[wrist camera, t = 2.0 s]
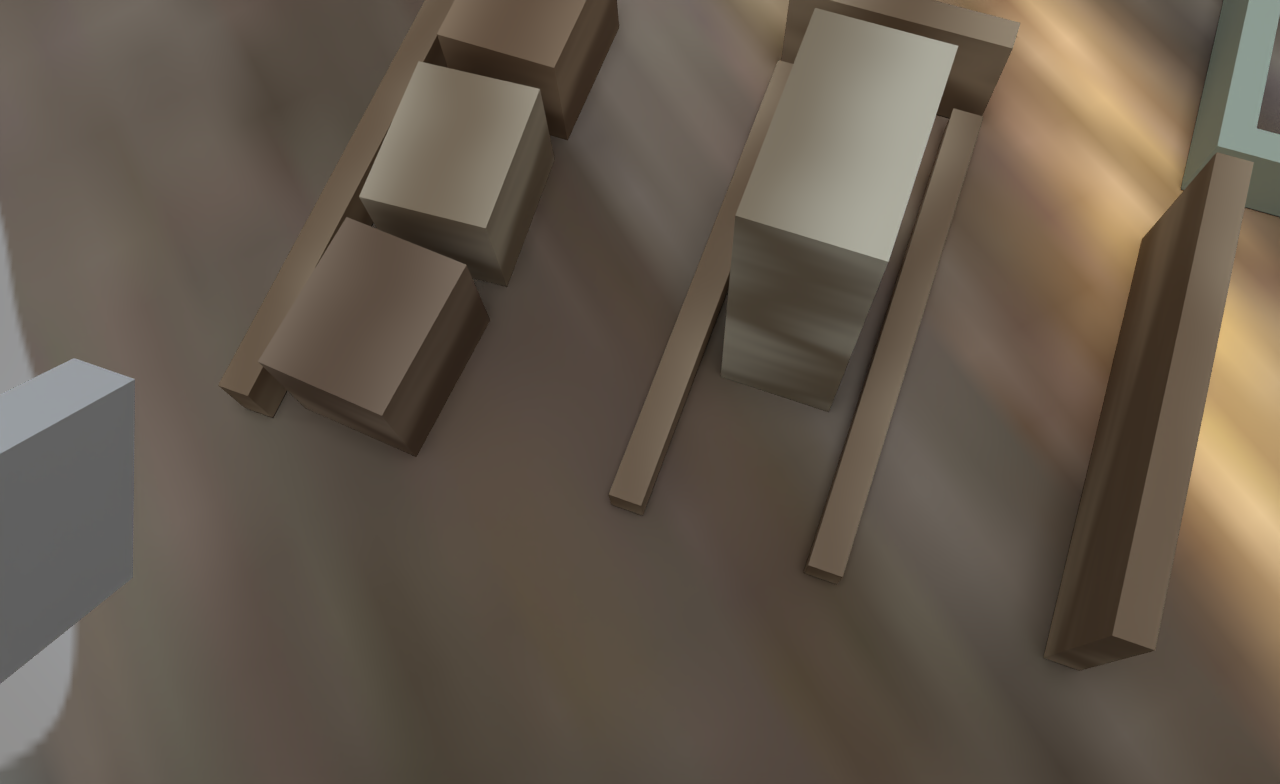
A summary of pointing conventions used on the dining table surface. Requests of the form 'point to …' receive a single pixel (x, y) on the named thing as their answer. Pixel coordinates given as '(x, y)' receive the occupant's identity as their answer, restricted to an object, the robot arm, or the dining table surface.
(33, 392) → the robot arm
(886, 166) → the tall beige block
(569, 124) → the offcut block
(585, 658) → the dining table surface
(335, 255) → the offcut block
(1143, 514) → the oak rack
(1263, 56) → the green frame
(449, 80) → the offcut block
